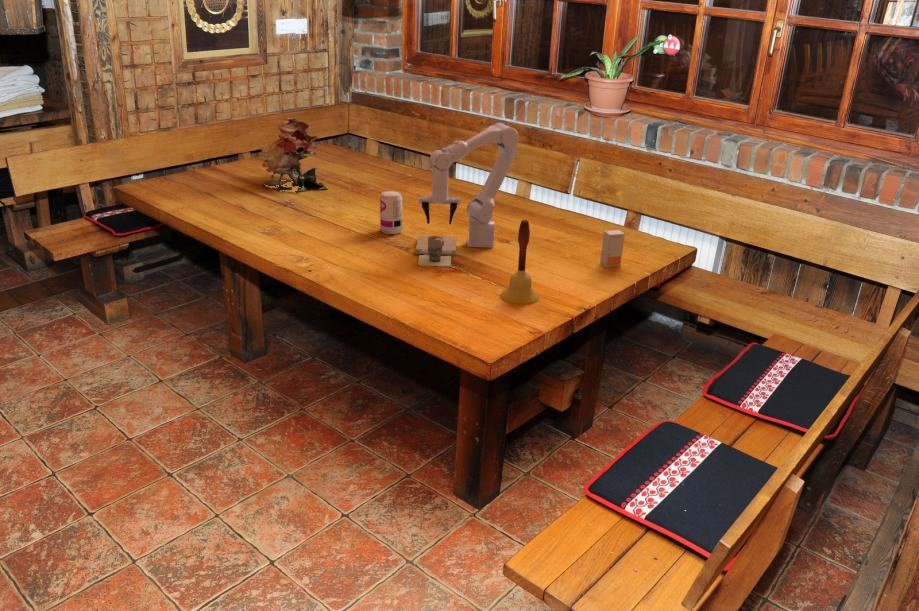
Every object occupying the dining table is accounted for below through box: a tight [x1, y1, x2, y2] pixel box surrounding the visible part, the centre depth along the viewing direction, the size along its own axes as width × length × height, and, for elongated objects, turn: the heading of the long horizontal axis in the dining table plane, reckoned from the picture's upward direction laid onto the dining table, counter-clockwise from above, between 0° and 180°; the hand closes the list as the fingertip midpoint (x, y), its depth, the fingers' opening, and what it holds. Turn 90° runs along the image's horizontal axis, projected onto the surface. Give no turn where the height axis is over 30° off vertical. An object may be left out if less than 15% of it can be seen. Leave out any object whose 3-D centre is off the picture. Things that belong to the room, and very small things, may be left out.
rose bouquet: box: [260, 117, 328, 193], centre depth 337 cm, size 26×29×30 cm
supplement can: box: [379, 190, 403, 235], centre depth 289 cm, size 8×8×15 cm
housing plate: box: [415, 235, 458, 257], centre depth 277 cm, size 14×14×2 cm
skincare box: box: [599, 229, 626, 268], centre depth 266 cm, size 6×4×12 cm
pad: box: [417, 255, 452, 268], centre depth 266 cm, size 11×9×1 cm
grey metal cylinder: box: [428, 235, 443, 262], centre depth 264 cm, size 5×5×8 cm
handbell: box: [499, 219, 540, 306], centre depth 236 cm, size 12×12×25 cm
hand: (439, 223), depth 273 cm, fingers open, 7 cm apart
